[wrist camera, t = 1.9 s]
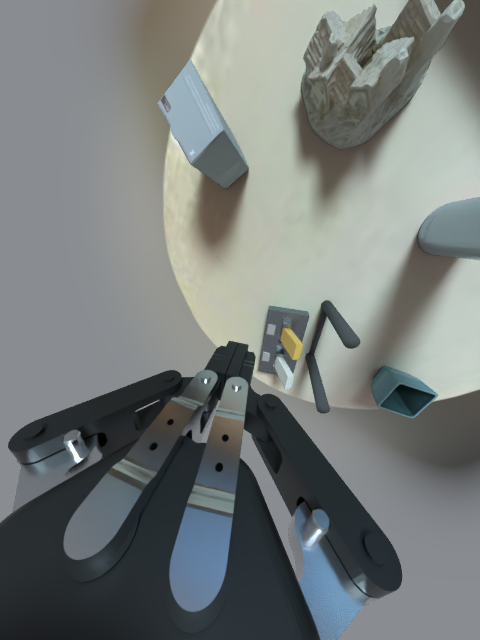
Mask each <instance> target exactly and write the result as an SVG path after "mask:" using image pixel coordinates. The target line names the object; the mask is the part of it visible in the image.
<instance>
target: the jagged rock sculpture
mask: <svg viewBox="0 0 480 640" xmlns="http://www.w3.org/2000/svg"><path fill="white" fill-rule="evenodd" d="M464 8H465V4H464V2H463V1H462V0H454V1H453V2H452V3H451V4H450V5H449V6H448V7H447V8H446V9H445V10H444V11H443V13H442V14H441V13H440V11H439V9H438V7H437V5H436V3H435V2H434V0H409V1H408V3H407V4H406V6H405V7H404V9H403V10H402V12H401V13H400V15H399V16H398V18H397V20H396V21H395V23H394V24H393V25H392V26H391V27H386V28H381V29H379V30H376V19H375V13H376V10H377V8H376V6H375V4H374V5H373V6H372V7H369V8H368V9H367V10H364V11H363V12H362V13H361V14H358V15H356V16H354V17H353V18H351V19H350V20H349V21H348V22H345V21H342V20H341V18H340V17H339V15H338V14H337V13H336V12H335V11H332V12H328V11H327V12H326V13H325V14H324V15H323V16H322V19H321V20H320V22H319V24H318V26H317V29H316V31H315V33H314V35H313V37H312V39H311V41H310V43H309V45H308V47H307V50H306V52H305V54H304V58H303V59H304V61H305V63H306V70H305V72H304V74H303V78H302V82H301V89H302V96H303V99H304V103H305V107H306V111H307V116H308V119H309V120H308V121H309V123H310V125H311V128H312V130H313V131H314V132H316V134H317V135H318V136H320V137H321V138H322V139H323V140H324V141H325V142H326V143H328V144H329V145H331V146H333V147H334V148H337V149H347V148H352V147H355V146H358V145H361V144H362V143H364V142H366V141H367V140H369V139H370V138H371V137H372V136H373V135H374V134H375V133H376V132H377V131H378V130H379V129H380V128H381V127H382V126H383V125H384V124H385V123H386V122H387V121H388V120H390V119H391V118H392V117H393V116H394V115H395V114H396V113H397V112H399V111H400V109H401V108H402V107H403V106H405V105H406V103H407V102H408V101H409V100H410V99H411V98H412V97H413V95H414V94H415V93H416V91H417V89H418V88H419V86H420V85H421V83H422V81H423V79H424V77H425V75H426V71H427V70H428V68H429V65H430V63H431V60H432V58H433V56H434V55H435V54H436V52H437V51H438V50H439V49H440V48H441V47H442V45H443V44H444V43H445V42H446V39H447V37H448V35H449V33H450V31H451V30H452V29H453V27H454V26H455V24H456V23H457V21H458V20H459V18H460V17H461V15H462V14H463V11H464Z"/></svg>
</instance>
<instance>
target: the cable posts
mask: <svg viewBox="0 0 480 640" xmlns="http://www.w3.org/2000/svg"><path fill="white" fill-rule="evenodd" d="M321 306H322V308H323V312H322V315H321V318H320V321H319V324H318V328H317V331H316V334H315V337H314V340H313V343H312V347H311V350H310V353H308V354H306V360H307V365H308V369H309V374H310V379H311V384H312V388H313V393H314V398H315V402H316V407H317V411H318V412H320V413H327V412H329V410H330V408H329V404H328V401H327V397H326V394H325V390H324V387H323V384H322V380H321V377H320V373H319V370H318V366H317V363H316V359H315V356H314V353H315V349H316V346H317V343H318V340H319V337H320V334H321V331H322V328H323V325H324V322H325V319H326V316H327V317H328V319H329V320H330V322H331V324H332V325H333V327H334V329H335V330H336V332H337V334H338V335H339V337H340V339H341V341H342V342H343V344H344V346H345V347H347V348H349V349H353V348H356V347H357V346H359V344H360V339H359V338H358V336H357V335H356V334H355V333H354V331H353V330H352V329H351V327H350V326H349V325H348V324H347V322H346V321H345V320H344V318H343V317H342V316H341V315H340V313H339V312H338V311H337V309H336V308H335V307H334V305H333V304H332V303H331V302H330V301H324V302H323V303H322V305H321Z"/></svg>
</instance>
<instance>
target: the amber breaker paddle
mask: <svg viewBox="0 0 480 640" xmlns="http://www.w3.org/2000/svg"><path fill="white" fill-rule="evenodd" d="M280 341H281V342H282V344H283V346H284V347H285V349H286V350H287V352H288V353H289V355H290V357H291V358H292V360H299V358H300V355H301V352H302V348H303V344H302V342H301V341H300V340H299V339H298V337H297V336H296V335H295V334H294V332H293V331H292V330H291V329H290V328H288V327H283V330H282V334H281V339H280Z"/></svg>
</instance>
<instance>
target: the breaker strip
mask: <svg viewBox="0 0 480 640" xmlns="http://www.w3.org/2000/svg"><path fill="white" fill-rule="evenodd" d="M308 319H309V314H308V312H307V311H300V310H294V309H287V308H281V307H275V306H269V311H268V317H267V323H266V329H265V335H264V340H263V346H262V352H261V358H260V364H259V370H258V371H263V372H268V373H273V374H277V372H276V370H275V367H274V366H275V362H276V357H277V356H279V357H283V358H284V359H285V361H286V363H287V365H288V366H289V368H290V370H291V372H292V373H293V372H294V369H295V365H296V361H297V360H292V358H291V357H290V355H289V353H288V352H287V350H286V349H285V347H284V346H283V344H282V342H281V341H280V339H281V334H282V330H283V327H288V328H290V329H291V330H292V331H293V332H294V334H295V335H296V336H297V337H298V339H299V340H300V341H301V342H302V340H303V337H304V333H305V330H306V326H307V323H308ZM277 375H278V374H277Z"/></svg>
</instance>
